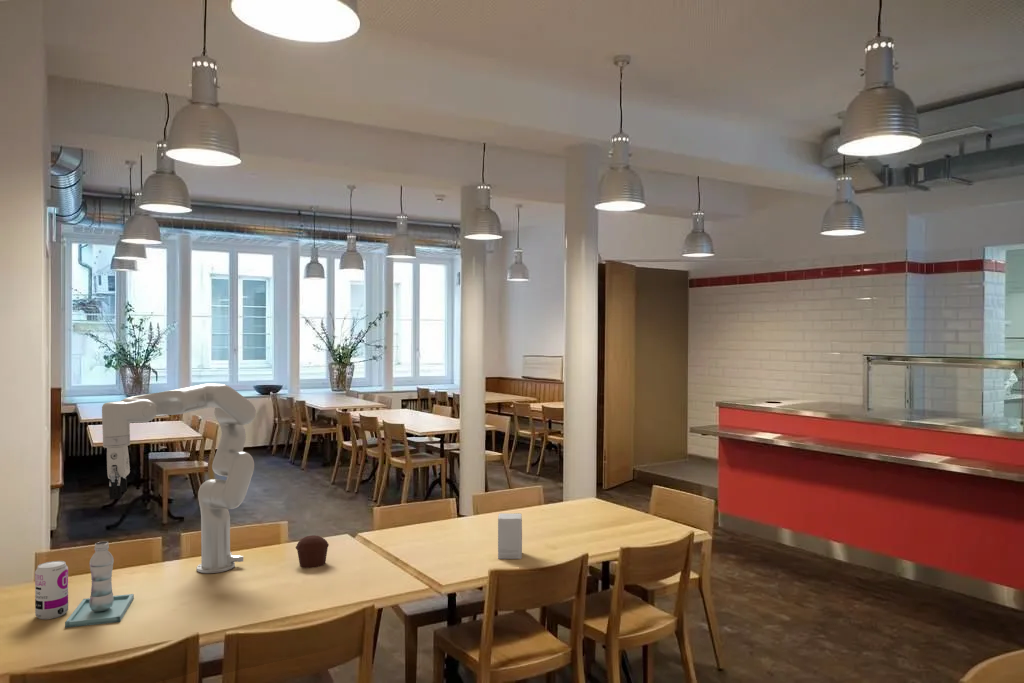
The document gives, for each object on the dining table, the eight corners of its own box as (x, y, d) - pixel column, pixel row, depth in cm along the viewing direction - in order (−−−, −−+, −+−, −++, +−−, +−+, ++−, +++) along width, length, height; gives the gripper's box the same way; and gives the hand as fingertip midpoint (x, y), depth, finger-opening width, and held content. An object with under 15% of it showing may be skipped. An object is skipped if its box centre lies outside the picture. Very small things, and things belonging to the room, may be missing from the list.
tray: (133, 598, 230) (133, 593, 230) (120, 621, 211) (120, 616, 211) (83, 603, 226) (83, 598, 226) (65, 627, 206) (65, 622, 206)
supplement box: (522, 559, 268) (521, 518, 268) (497, 559, 269) (497, 518, 269) (522, 552, 278) (522, 512, 278) (498, 552, 278) (498, 512, 278)
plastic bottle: (86, 615, 214) (86, 547, 214) (92, 607, 221) (92, 541, 221) (110, 613, 216) (110, 545, 216) (116, 605, 222) (116, 539, 222)
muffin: (333, 560, 269) (333, 533, 269) (322, 569, 258) (322, 541, 258) (302, 559, 270) (302, 532, 270) (290, 568, 259) (290, 540, 259)
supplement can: (73, 609, 221) (73, 560, 221) (57, 620, 212) (57, 568, 212) (46, 610, 220) (46, 560, 220) (29, 620, 212) (28, 568, 212)
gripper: (125, 444, 222) (127, 500, 223) (134, 436, 239) (136, 488, 239) (97, 446, 220) (99, 502, 220) (108, 438, 236) (110, 490, 237)
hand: (118, 495), depth 230 cm, fingers open, 9 cm apart
